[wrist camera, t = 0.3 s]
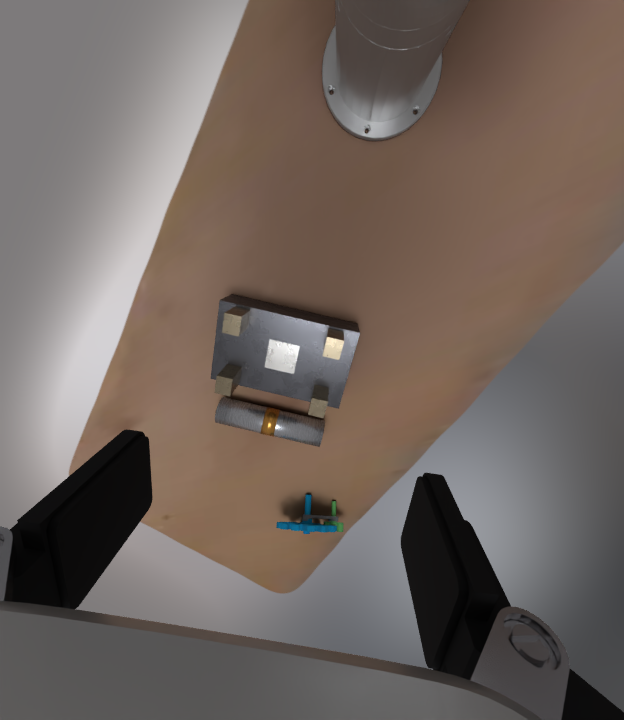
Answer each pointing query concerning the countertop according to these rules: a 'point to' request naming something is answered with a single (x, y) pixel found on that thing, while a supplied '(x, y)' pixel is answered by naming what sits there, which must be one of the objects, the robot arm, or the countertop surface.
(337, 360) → the grey plate with feet
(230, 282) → the countertop surface
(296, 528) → the gear
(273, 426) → the tube
